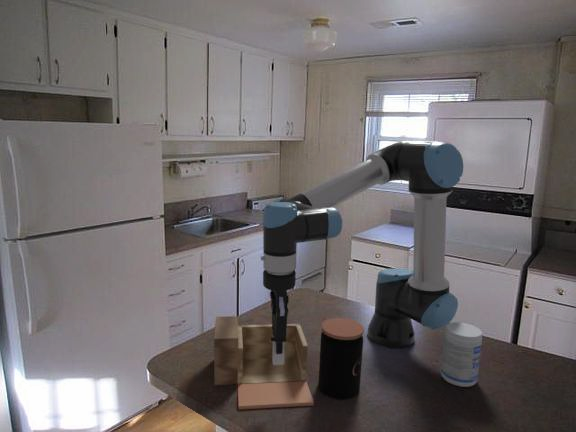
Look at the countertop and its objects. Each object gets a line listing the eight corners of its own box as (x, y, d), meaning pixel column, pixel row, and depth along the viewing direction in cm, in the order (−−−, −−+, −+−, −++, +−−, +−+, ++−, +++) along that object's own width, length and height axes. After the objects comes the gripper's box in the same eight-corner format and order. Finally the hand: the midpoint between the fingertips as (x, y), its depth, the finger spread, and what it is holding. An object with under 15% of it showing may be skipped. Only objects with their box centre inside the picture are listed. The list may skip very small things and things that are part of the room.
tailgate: (306, 381, 112) (313, 402, 103) (306, 384, 112) (313, 405, 103) (237, 384, 110) (238, 406, 100) (237, 388, 110) (238, 410, 100)
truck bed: (298, 358, 126) (300, 314, 123) (305, 384, 113) (308, 335, 110) (215, 362, 122) (215, 316, 119) (213, 389, 110) (213, 338, 107)
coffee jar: (358, 406, 104) (363, 339, 101) (315, 400, 106) (318, 333, 103) (360, 382, 115) (364, 320, 111) (320, 376, 117) (324, 315, 113)
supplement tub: (478, 391, 113) (485, 340, 110) (440, 384, 115) (446, 334, 112) (474, 372, 122) (480, 324, 119) (439, 366, 124) (444, 319, 122)
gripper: (261, 261, 103) (260, 350, 108) (265, 280, 91) (265, 379, 96) (291, 260, 104) (289, 348, 109) (300, 279, 92) (297, 377, 97)
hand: (278, 363), depth 102 cm, fingers closed
